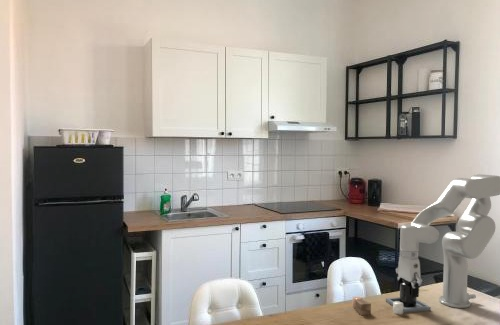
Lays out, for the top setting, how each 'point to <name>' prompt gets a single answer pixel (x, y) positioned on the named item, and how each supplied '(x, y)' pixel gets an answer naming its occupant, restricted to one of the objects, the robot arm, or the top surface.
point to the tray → (419, 307)
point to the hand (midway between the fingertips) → (407, 293)
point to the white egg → (398, 307)
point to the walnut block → (363, 307)
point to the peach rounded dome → (355, 301)
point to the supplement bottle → (407, 294)
